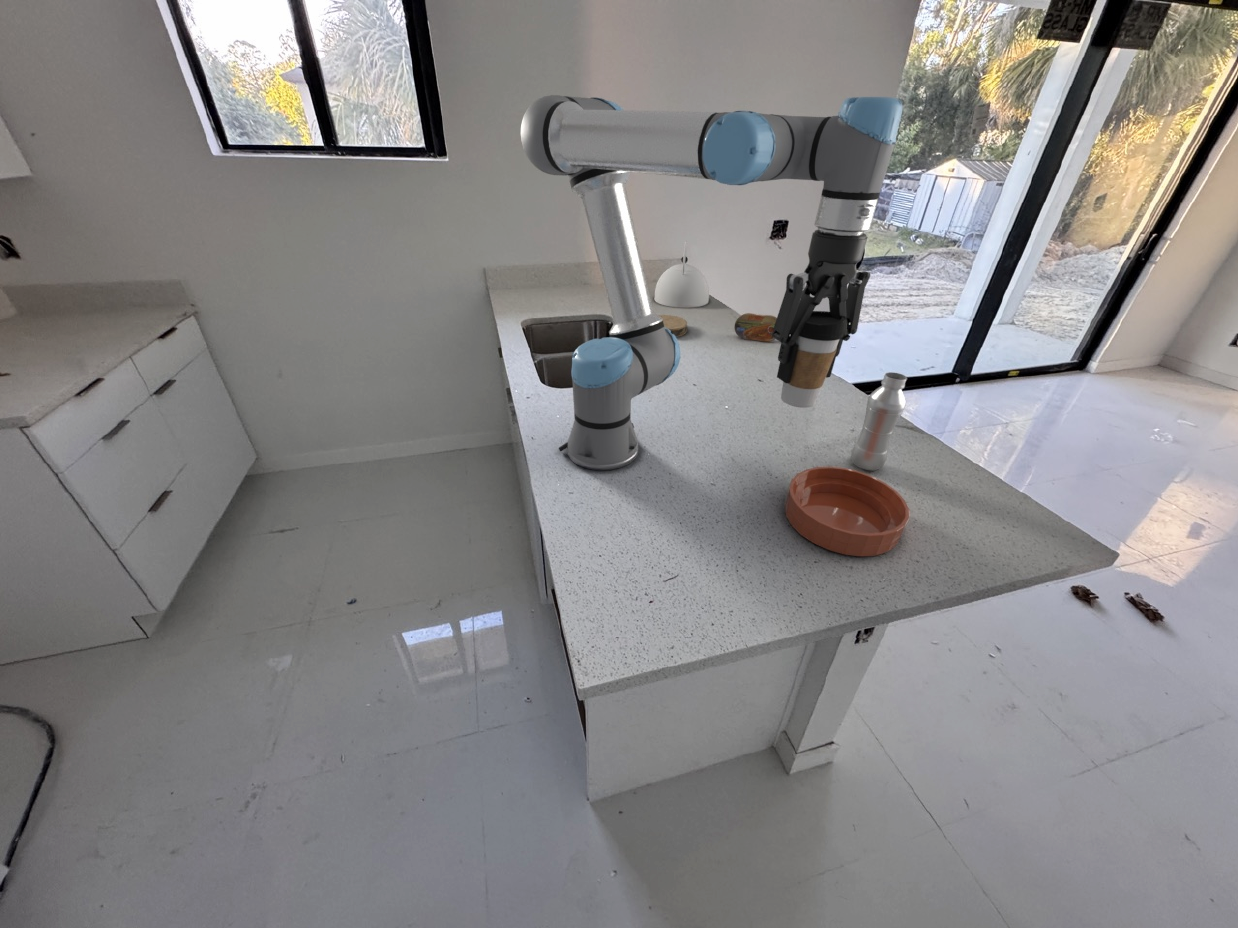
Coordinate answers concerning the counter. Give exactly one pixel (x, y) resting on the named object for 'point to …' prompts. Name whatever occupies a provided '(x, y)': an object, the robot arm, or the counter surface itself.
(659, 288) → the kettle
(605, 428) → the robot arm
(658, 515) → the counter surface
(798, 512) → the bowl
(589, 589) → the counter surface
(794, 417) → the counter surface
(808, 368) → the coffee cup
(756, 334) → the tin
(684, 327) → the round brown disc
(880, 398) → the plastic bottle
